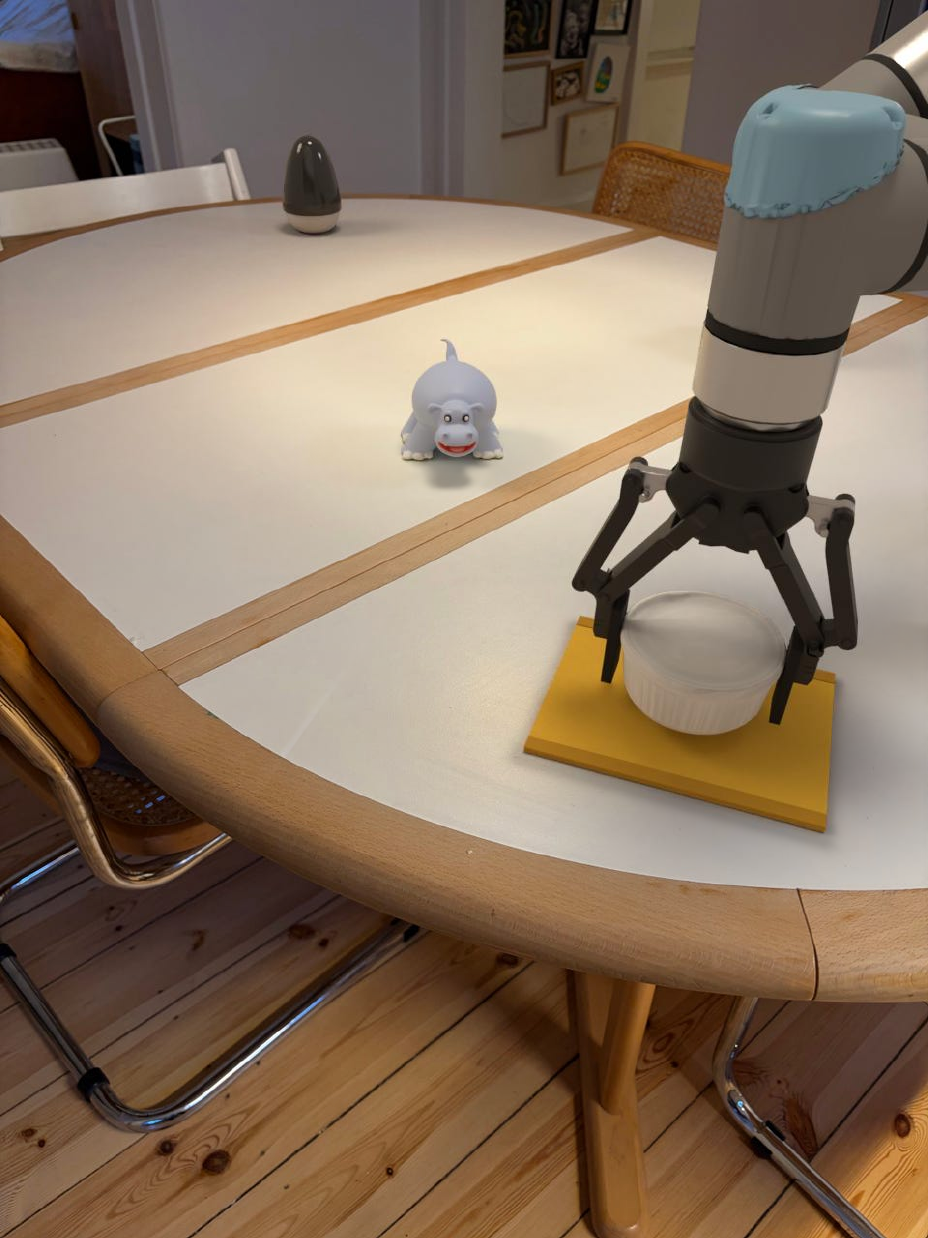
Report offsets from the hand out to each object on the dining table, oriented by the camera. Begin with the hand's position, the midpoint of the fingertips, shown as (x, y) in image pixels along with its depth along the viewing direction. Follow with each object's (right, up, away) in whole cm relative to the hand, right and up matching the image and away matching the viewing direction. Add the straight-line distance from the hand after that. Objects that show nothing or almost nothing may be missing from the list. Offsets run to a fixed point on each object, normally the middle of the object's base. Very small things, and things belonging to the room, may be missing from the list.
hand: (690, 691), depth 66 cm
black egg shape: (-43, +74, +99) cm, 131 cm away
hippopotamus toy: (-17, +23, +33) cm, 44 cm away
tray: (0, -2, +1) cm, 2 cm away
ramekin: (0, 0, 0) cm, 0 cm away
